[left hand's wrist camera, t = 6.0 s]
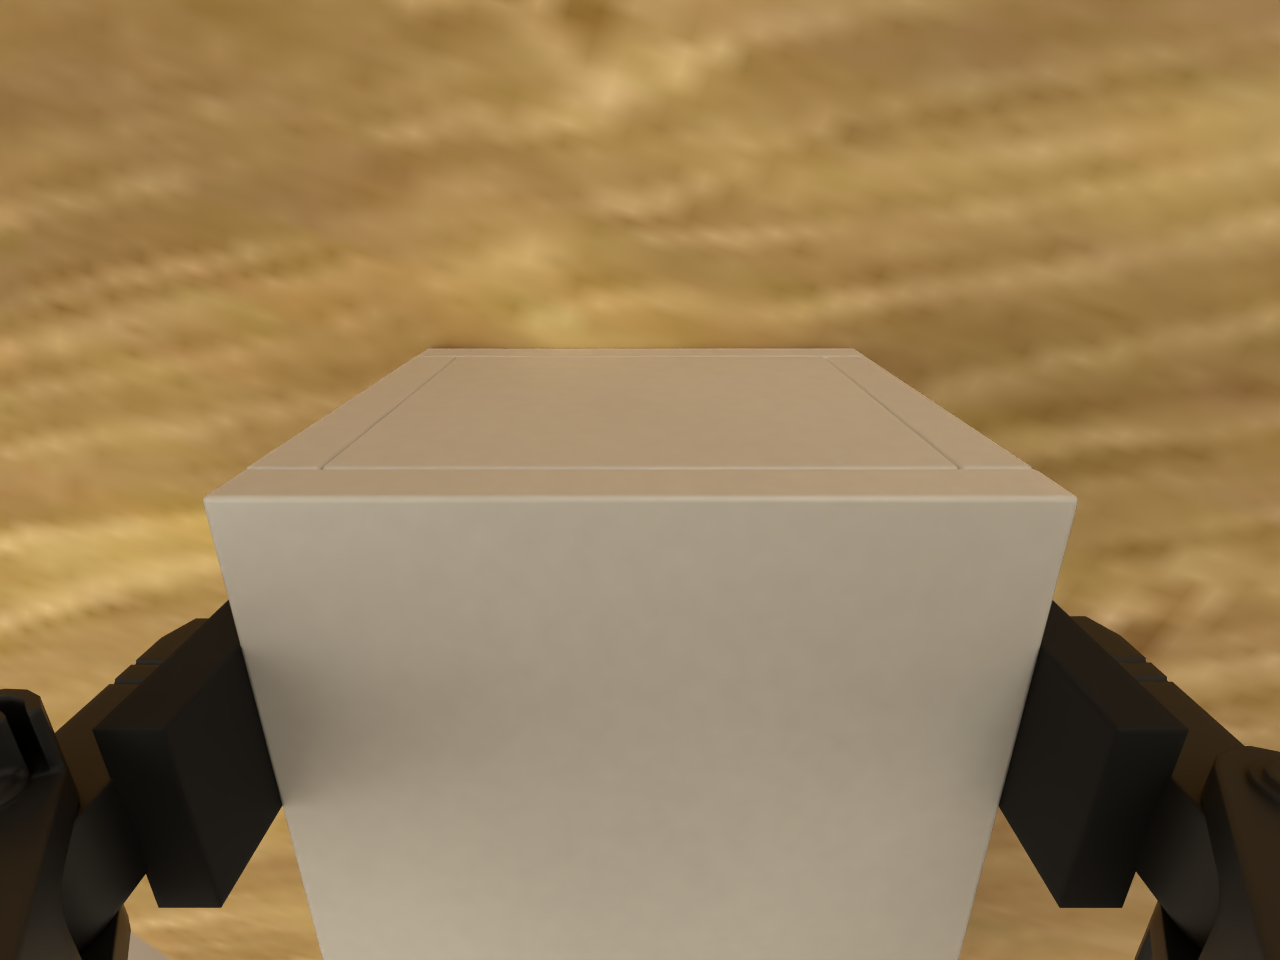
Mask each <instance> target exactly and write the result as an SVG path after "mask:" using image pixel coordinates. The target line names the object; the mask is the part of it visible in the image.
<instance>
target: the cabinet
mask: <svg viewBox="0 0 1280 960" xmlns="http://www.w3.org/2000/svg"><path fill="white" fill-rule="evenodd" d="M203 503H204V507H205V511H206V515H207V519H208V522H209V526H210V530H211V534H212V538H213V542H214V545H215V549H216V553H217V557H218V561H219V565H220V568H221V572H222V576H223V580H224V584H225V587H226V591H227V595H228V599H229V603H230V607H231V610H232V614H233V618H234V622H235V626H236V629H237V633H238V637H239V641H240V645H241V649H242V652H243V656H244V660H245V664H246V668H247V671H248V675H249V679H250V683H251V687H252V691H253V694H254V698H255V702H256V706H257V710H258V713H259V717H260V721H261V725H262V729H263V733H264V736H265V740H266V744H267V748H268V752H269V756H270V759H271V763H272V767H273V771H274V775H275V778H276V782H277V786H278V790H279V794H280V798H281V801H282V805H283V809H284V813H285V817H286V820H287V824H288V828H289V832H290V836H291V840H292V843H293V847H294V851H295V855H296V859H297V862H298V866H299V870H300V874H301V878H302V882H303V885H304V889H305V893H306V897H307V901H308V905H309V908H310V912H311V916H312V920H313V924H314V927H315V931H316V935H317V939H318V943H319V947H320V950H321V954H322V958H323V960H959V956H960V952H961V948H962V945H963V941H964V937H965V933H966V929H967V925H968V922H969V918H970V914H971V910H972V906H973V902H974V898H975V895H976V891H977V887H978V883H979V879H980V875H981V872H982V868H983V864H984V860H985V856H986V852H987V849H988V845H989V841H990V837H991V833H992V829H993V826H994V822H995V818H996V814H997V810H998V806H999V802H1000V799H1001V795H1002V791H1003V787H1004V783H1005V779H1006V776H1007V772H1008V768H1009V764H1010V760H1011V756H1012V753H1013V749H1014V745H1015V741H1016V737H1017V733H1018V729H1019V726H1020V722H1021V718H1022V714H1023V710H1024V706H1025V703H1026V699H1027V695H1028V691H1029V687H1030V683H1031V680H1032V676H1033V672H1034V668H1035V664H1036V660H1037V657H1038V653H1039V649H1040V645H1041V641H1042V637H1043V633H1044V630H1045V626H1046V622H1047V618H1048V614H1049V610H1050V607H1051V603H1052V599H1053V595H1054V591H1055V587H1056V584H1057V580H1058V576H1059V572H1060V568H1061V564H1062V560H1063V557H1064V553H1065V549H1066V545H1067V541H1068V537H1069V534H1070V530H1071V526H1072V522H1073V518H1074V514H1075V511H1076V507H1077V503H1078V502H1077V497H1076V496H1075V495H1074V494H1072V493H1071V492H1069V491H1068V490H1066V489H1065V488H1063V487H1062V486H1060V485H1059V484H1057V483H1056V482H1054V481H1053V480H1051V479H1050V478H1048V477H1047V476H1045V475H1044V474H1042V473H1040V472H1039V471H1037V470H1035V469H1032V468H1031V466H1030V465H1028V464H1026V463H1025V462H1023V461H1022V460H1020V459H1019V458H1017V457H1016V456H1014V455H1013V454H1011V453H1010V452H1008V451H1007V450H1005V449H1004V448H1002V447H1001V446H999V445H998V444H996V443H995V442H993V441H992V440H990V439H989V438H987V437H986V436H984V435H983V434H981V433H980V432H978V431H977V430H975V429H974V428H972V427H971V426H969V425H968V424H966V423H965V422H963V421H962V420H960V419H959V418H957V417H956V416H954V415H953V414H951V413H950V412H948V411H947V410H945V409H944V408H942V407H941V406H939V405H938V404H936V403H935V402H933V401H932V400H930V399H929V398H927V397H926V396H924V395H923V394H921V393H920V392H918V391H917V390H915V389H914V388H912V387H911V386H909V385H908V384H906V383H905V382H903V381H902V380H900V379H898V378H897V377H895V376H894V375H892V374H891V373H889V372H888V371H886V370H885V369H883V368H882V367H880V366H879V365H877V364H876V363H874V362H873V361H871V360H870V359H868V358H867V357H865V356H864V355H863V354H861V353H860V352H858V351H857V350H855V349H853V348H438V349H427V350H425V351H424V352H422V353H421V354H419V355H418V356H416V357H414V358H412V359H411V360H409V361H408V362H406V363H405V364H403V365H402V366H400V367H398V368H397V369H395V370H394V371H392V372H391V373H389V374H388V375H386V376H385V377H383V378H382V379H380V380H379V381H377V382H376V383H374V384H373V385H371V386H370V387H368V388H367V389H365V390H364V391H362V392H361V393H359V394H357V395H356V396H354V397H353V398H351V399H350V400H348V401H347V402H345V403H344V404H342V405H341V406H339V407H338V408H336V409H335V410H333V411H332V412H330V413H329V414H327V415H326V416H324V417H323V418H321V419H320V420H318V421H316V422H315V423H313V424H312V425H310V426H309V427H307V428H306V429H304V430H303V431H301V432H300V433H298V434H297V435H295V436H294V437H292V438H291V439H289V440H288V441H286V442H285V443H283V444H282V445H280V446H279V447H277V448H275V449H274V450H272V451H271V452H269V453H268V454H266V455H265V456H263V457H262V458H260V459H259V460H257V461H256V462H254V463H253V464H251V465H250V466H248V467H247V470H244V471H242V472H241V473H239V474H238V475H236V476H235V477H233V478H232V479H230V480H229V481H227V482H226V483H224V484H223V485H221V486H220V487H218V488H217V489H215V490H214V491H212V492H211V493H209V494H207V495H206V496H205V497H204V501H203Z"/></svg>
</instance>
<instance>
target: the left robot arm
mask: <svg viewBox="0 0 1280 960" xmlns="http://www.w3.org/2000/svg"><path fill="white" fill-rule="evenodd" d="M1145 659H1146V658H1145V657H1144V656H1143V655H1142V654H1140V653H1139V652H1138V651H1137V650H1136V649H1135V648H1134V647H1133V646H1131V645H1130V644H1129V643H1128V642H1127V641H1126V640H1125V639H1124V638H1122V637H1121V636H1120V635H1118V634H1117V633H1115V632H1113V631H1111V630H1109V629H1108V628H1106V627H1104V626H1102V625H1100V624H1098V623H1097V622H1095V621H1093V620H1091V619H1089V618H1088V617H1086V616H1069V615H1068V614H1067V613H1065V612H1064V611H1063V610H1062V609H1061V608H1060V607H1059V606H1058V605H1057V604H1056V603H1055V602H1054V601H1053V600H1052V603H1051V607H1050V610H1049V614H1048V618H1047V622H1046V626H1045V630H1044V633H1043V637H1042V641H1041V645H1040V649H1039V653H1038V657H1037V660H1036V664H1035V668H1034V672H1033V676H1032V680H1031V683H1030V687H1029V691H1028V695H1027V699H1026V703H1025V706H1024V710H1023V714H1022V718H1021V722H1020V726H1019V729H1018V733H1017V737H1016V741H1015V745H1014V749H1013V753H1012V756H1011V760H1010V764H1009V768H1008V772H1007V776H1006V779H1005V783H1004V787H1003V791H1002V795H1001V799H1000V802H999V807H1000V809H1001V811H1002V812H1003V814H1004V816H1005V817H1006V819H1007V821H1008V822H1009V824H1010V826H1011V827H1012V829H1013V831H1014V832H1015V834H1016V836H1017V837H1018V839H1019V841H1020V842H1021V844H1022V846H1023V847H1024V849H1025V851H1026V852H1027V854H1028V856H1029V857H1030V859H1031V861H1032V862H1033V864H1034V866H1035V867H1036V869H1037V871H1038V872H1039V874H1040V876H1041V877H1042V879H1043V881H1044V882H1045V884H1046V886H1047V887H1048V889H1049V891H1050V892H1051V894H1052V896H1053V897H1054V899H1055V901H1056V902H1057V904H1058V906H1059V907H1060V908H1122V907H1123V904H1124V901H1125V899H1126V896H1127V893H1128V891H1129V888H1130V885H1131V883H1132V880H1133V877H1134V875H1135V872H1137V873H1138V875H1139V876H1140V877H1141V879H1142V880H1143V881H1144V883H1145V884H1146V885H1147V887H1148V888H1149V889H1150V891H1151V892H1152V893H1153V895H1154V896H1155V897H1156V899H1157V900H1158V902H1157V904H1156V907H1155V909H1154V912H1153V914H1152V917H1151V919H1150V922H1149V924H1148V927H1147V929H1146V932H1145V934H1144V937H1143V939H1142V942H1141V944H1140V947H1139V949H1138V952H1137V954H1136V956H1135V960H1280V752H1278V751H1273V750H1268V749H1263V748H1258V747H1253V746H1244V745H1243V744H1242V743H1241V742H1239V741H1238V740H1237V739H1236V738H1235V737H1234V736H1233V735H1232V734H1230V733H1229V732H1228V731H1227V730H1226V729H1225V728H1224V727H1223V726H1221V725H1220V724H1219V723H1218V722H1217V721H1216V720H1215V719H1214V718H1212V717H1211V716H1210V715H1209V714H1208V713H1207V712H1206V711H1205V710H1203V709H1202V708H1201V707H1200V706H1199V705H1198V704H1197V703H1196V702H1194V701H1193V700H1192V699H1191V698H1190V697H1189V696H1188V695H1187V694H1185V693H1184V692H1183V691H1182V690H1181V689H1180V688H1179V687H1178V686H1176V685H1175V684H1174V683H1173V682H1168V681H1167V677H1166V676H1165V675H1164V674H1163V673H1162V672H1161V671H1160V670H1158V669H1157V668H1156V667H1155V666H1154V665H1153V664H1152V663H1147V662H1146V660H1145ZM281 807H282V801H281V798H280V794H279V790H278V786H277V782H276V778H275V775H274V771H273V767H272V763H271V759H270V756H269V752H268V748H267V744H266V740H265V736H264V733H263V729H262V725H261V721H260V717H259V713H258V710H257V706H256V702H255V698H254V694H253V691H252V687H251V683H250V679H249V675H248V671H247V668H246V664H245V660H244V656H243V652H242V649H241V645H240V641H239V637H238V633H237V629H236V626H235V622H234V618H233V614H232V610H231V607H230V603H229V600H228V601H227V602H226V603H225V604H224V605H223V606H222V607H221V608H220V609H218V610H217V611H216V612H215V613H214V614H213V615H212V616H211V617H210V618H209V619H194V620H192V621H191V622H189V623H187V624H185V625H183V626H182V627H180V628H178V629H176V630H174V631H173V632H171V633H169V634H167V635H165V636H164V637H162V638H161V639H159V640H158V641H157V642H156V643H155V644H154V645H153V646H152V647H150V648H149V649H148V650H147V651H146V652H145V653H144V654H143V655H142V656H140V657H139V658H138V659H137V660H136V664H135V665H130V666H129V667H128V668H127V669H126V670H125V671H124V672H123V673H121V674H120V675H119V676H118V677H117V678H116V679H115V683H114V684H109V685H108V686H107V687H106V688H105V689H104V690H102V691H101V692H100V693H99V694H98V695H97V696H96V697H95V698H94V699H92V700H91V701H90V702H89V703H88V704H87V705H86V706H85V707H83V708H82V709H81V710H80V711H79V712H78V713H77V714H76V715H75V716H73V717H72V718H71V719H70V720H69V721H68V722H67V723H66V724H64V725H63V726H62V727H61V728H60V729H59V730H58V731H57V732H56V733H54V730H53V728H52V725H51V723H50V720H49V718H48V715H47V713H46V710H45V708H44V705H43V703H42V700H41V698H40V696H38V695H36V694H34V693H33V692H31V691H29V690H23V689H1V690H0V960H128V950H129V941H130V932H131V928H130V923H129V918H128V914H127V912H126V909H125V907H124V902H125V901H126V899H127V898H128V897H129V895H130V894H131V893H132V891H133V890H134V889H135V887H136V886H137V885H138V883H139V882H140V881H141V879H142V878H143V877H144V875H145V874H146V875H147V878H148V880H149V883H150V886H151V888H152V891H153V894H154V896H155V899H156V902H157V904H158V907H159V908H221V907H222V905H223V904H224V902H225V900H226V899H227V897H228V895H229V894H230V892H231V890H232V889H233V887H234V885H235V884H236V882H237V880H238V879H239V877H240V875H241V874H242V872H243V870H244V869H245V867H246V865H247V864H248V862H249V860H250V859H251V857H252V855H253V854H254V852H255V850H256V849H257V847H258V845H259V844H260V842H261V840H262V839H263V837H264V835H265V834H266V832H267V830H268V829H269V827H270V825H271V824H272V822H273V820H274V819H275V817H276V815H277V814H278V812H279V810H280V809H281Z"/></svg>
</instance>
